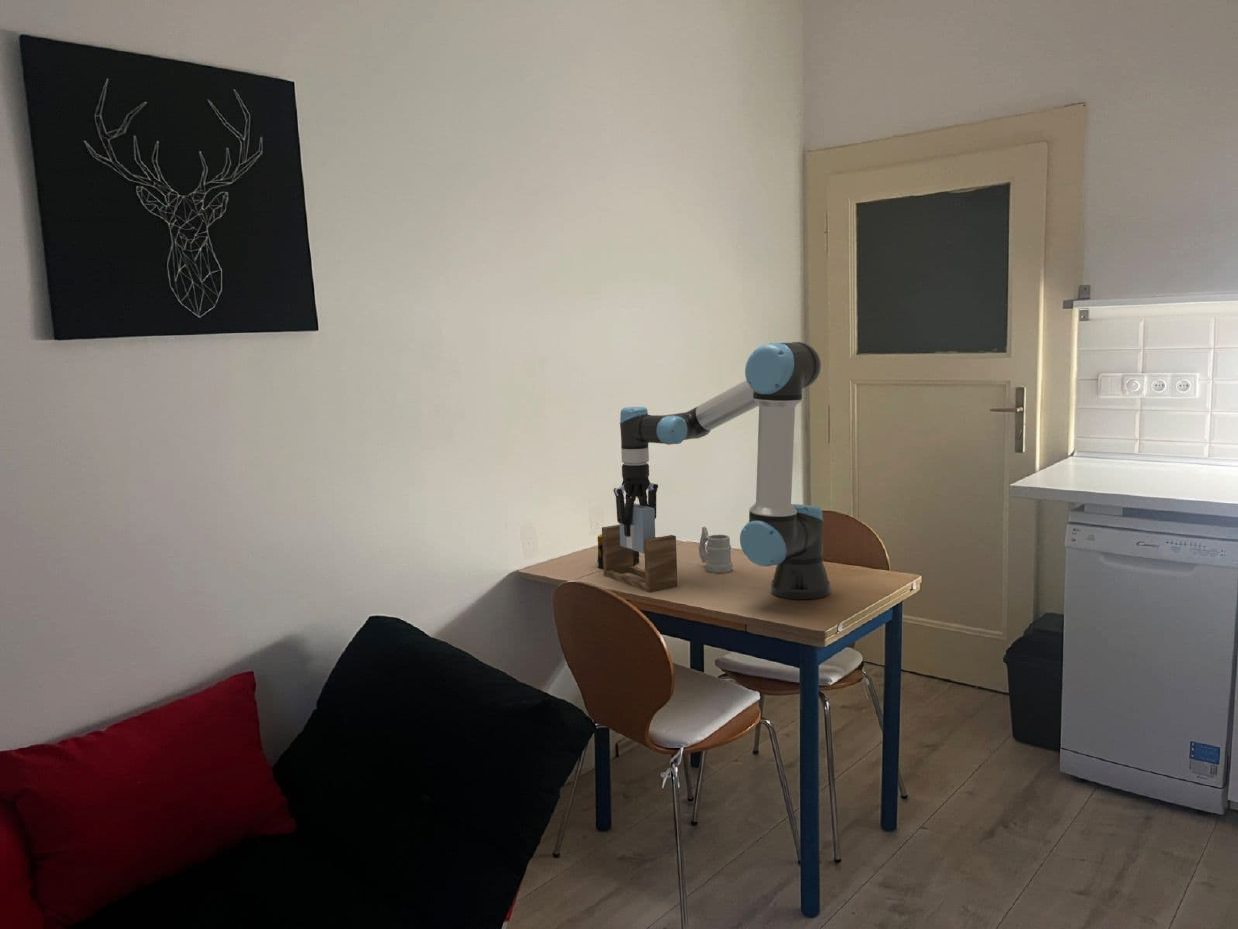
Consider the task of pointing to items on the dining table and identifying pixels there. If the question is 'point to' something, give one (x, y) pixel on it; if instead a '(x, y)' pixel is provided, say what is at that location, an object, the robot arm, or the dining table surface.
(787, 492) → the robot arm
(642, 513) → the pale blue book
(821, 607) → the dining table surface
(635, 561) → the dark brown pieces
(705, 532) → the mug
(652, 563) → the rack
